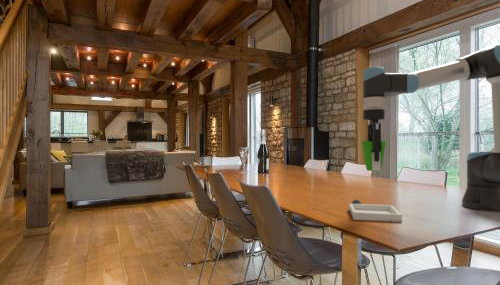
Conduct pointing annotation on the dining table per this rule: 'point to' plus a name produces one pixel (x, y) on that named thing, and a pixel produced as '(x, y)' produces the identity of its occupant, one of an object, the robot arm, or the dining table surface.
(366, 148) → the cup
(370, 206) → the tray
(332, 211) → the dining table surface
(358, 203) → the ball
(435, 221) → the dining table surface
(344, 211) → the dining table surface
